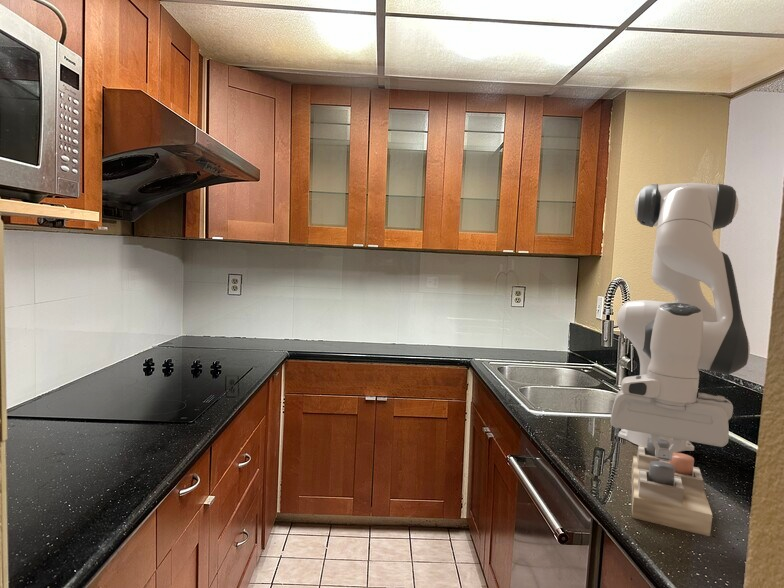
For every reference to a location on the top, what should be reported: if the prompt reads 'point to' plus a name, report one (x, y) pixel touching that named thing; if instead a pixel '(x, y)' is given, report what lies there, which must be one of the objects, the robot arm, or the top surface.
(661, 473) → the button
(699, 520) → the control panel
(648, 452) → the button
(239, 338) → the top surface
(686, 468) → the middle button
